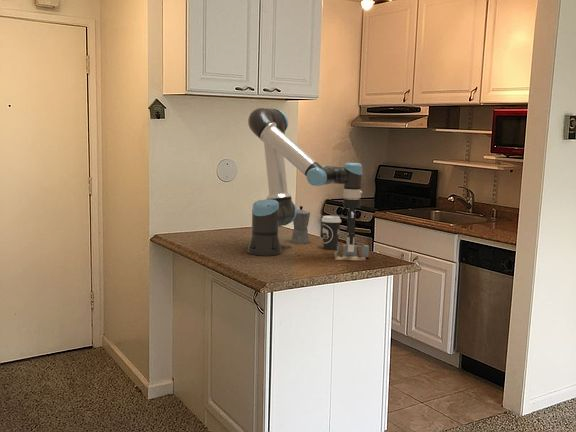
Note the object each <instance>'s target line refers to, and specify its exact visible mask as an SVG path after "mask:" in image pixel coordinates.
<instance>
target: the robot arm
mask: <svg viewBox="0 0 576 432" xmlns="http://www.w3.org/2000/svg"><path fill="white" fill-rule="evenodd" d="M247 123H248V127H249V129H250V131H251V132H252V133H253V134H254V135H255V136H256V137H258V139H259V140H260V141H261V142H263V145H264V147H263V149H264V156H265V165H266V167H265V168H266V176H267V186H268V195H267V197H266V198H265V199H260V200H256V201H254V202H253V204H252V209H251V236H250V239H249V243H248V245H247V254H250V255H253V256H260V257H261V256H263V257H264V256H265V257H267V256H277V255H281V254H282V246H281V245H282V244H281V241H280V238H279V227H281V226H284V227H285V226H287V225H289V224H291V223H292V222H293V220H294V219H295V217H296V214H297V210H298V209H297V206H296V203H294V201H293V199H292V195H291V194H290V193H289V192H288V184H287V182H288V181H287V173H286V163H285V159H286V160H287V161H289V163H291V165H293V166H294V167H295V168H296V169H297V170H298V171H300V172H301V173H302V174H303V175H304V176H305V177H306V180H307V182H308V184H309V185H311V186H315V187H318V186H320V187H321V186H324V185H330V184H337V185H343V196H342V197H343V198H344V199H343V205H342V206H343V208H346V209H347V210H346V220H347V222H346V223H347V224H346V244H345V245H348V252H354V245H355V237H356V220H357V212H356V211H355V210H356V209H360V208H361V203H362V199H361V197H362V194H363V191H362V181H363V165H362V163H359V162H346V163H345V164H344V166H334V165H332V166H331V165H321V164H320V163H318V162H317V161H316V160H315V159H314V158H313V157H312V156H310V155H309V154H308V153H307V152H306V151H305V150H304V149H302V148H301V147H300V146H299V145H298V144H296V142H294V141H293V140H292V139H291V138H290V137H288V136H287V135H286V131H287V129H288V127H289V121H288V117H287V115H286V114H285V113H284V112H283V111H282V110H280V109H277V108H267V107H266V108H265V107H259V108H255V109H254V110H253V111H251V112H250V114H249V116H248V120H247Z"/></svg>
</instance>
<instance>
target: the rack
mask: <svg viewBox="0 0 576 432" xmlns="http://www.w3.org/2000/svg"><path fill="white" fill-rule="evenodd" d="M338 244H343V241H338ZM356 245H361V242H358V241H357V242H356ZM333 254H334V260H335V261H337V260H338V261H339V260H340V261H363V262H364V261H365V262H366V258H367V257H361V255H362V246H358V256H343V245H340V251H339V256H337V251H334V253H333Z"/></svg>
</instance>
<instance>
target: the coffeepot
mask: <svg viewBox="0 0 576 432" xmlns="http://www.w3.org/2000/svg"><path fill="white" fill-rule="evenodd" d="M310 216H311V211H308V210H305V209H303V205H300V206H299V209H297V214H296V217H295V219H294V220H293V221H292V222H293V231H292V235H291V243H293V244H299V245H300V244H301V245H303V244H308V243H310V238H309V231H308V226H309V222H310Z"/></svg>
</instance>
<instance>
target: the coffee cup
mask: <svg viewBox="0 0 576 432" xmlns="http://www.w3.org/2000/svg"><path fill="white" fill-rule="evenodd" d="M320 221H321V227H322V228H321V229H322V244H323V245H322V247H323V249H325V250H337V244H339V237H340V236H339V235H340V228H341V227H340V226H341V223H342V219H341V217H340V216H338V215H323V216H322V218H321V220H320Z"/></svg>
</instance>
